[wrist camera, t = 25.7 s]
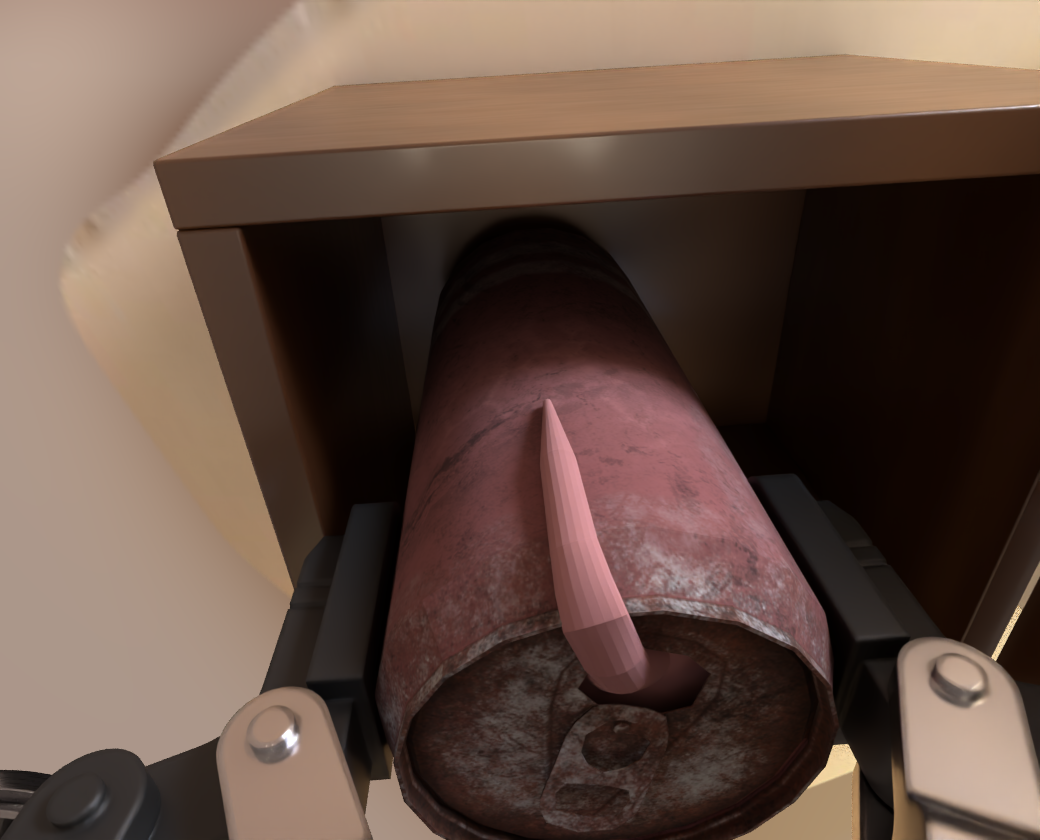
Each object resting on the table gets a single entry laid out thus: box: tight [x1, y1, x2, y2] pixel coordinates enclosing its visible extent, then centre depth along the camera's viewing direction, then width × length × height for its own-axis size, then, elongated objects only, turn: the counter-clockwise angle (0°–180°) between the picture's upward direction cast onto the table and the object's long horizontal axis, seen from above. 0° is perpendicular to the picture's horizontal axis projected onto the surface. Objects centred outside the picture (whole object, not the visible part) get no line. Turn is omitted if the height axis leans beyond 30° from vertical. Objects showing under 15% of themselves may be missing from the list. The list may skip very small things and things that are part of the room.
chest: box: [153, 55, 1040, 658], centre depth 17 cm, size 15×13×12 cm
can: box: [375, 228, 839, 840], centre depth 14 cm, size 6×6×14 cm
